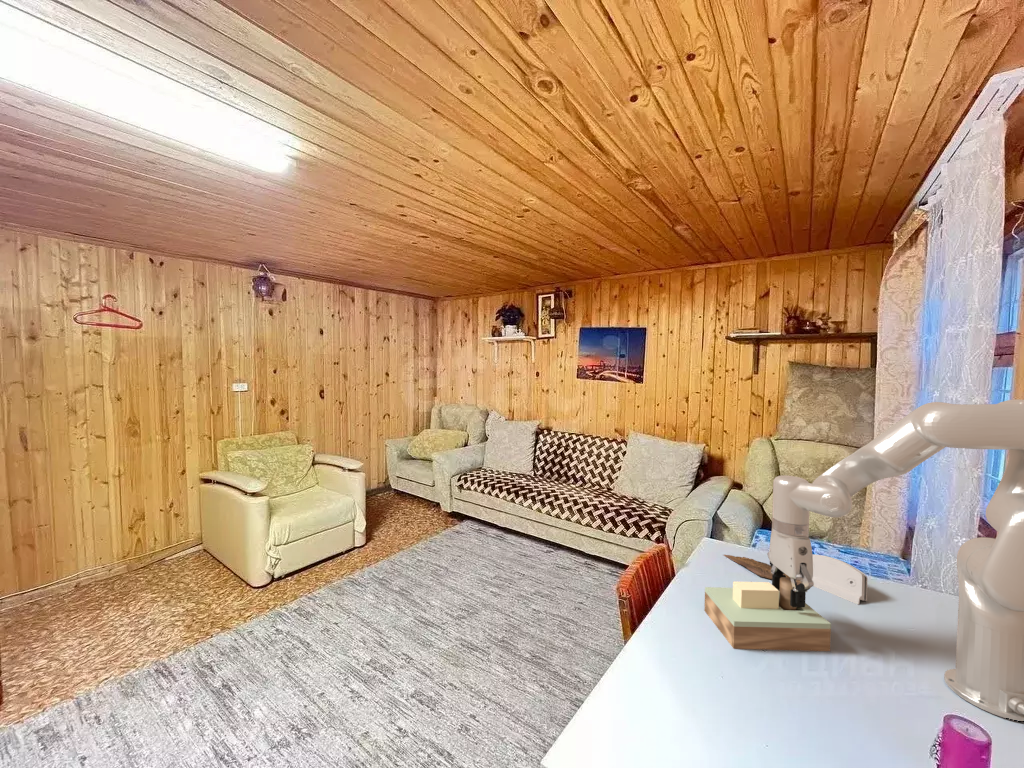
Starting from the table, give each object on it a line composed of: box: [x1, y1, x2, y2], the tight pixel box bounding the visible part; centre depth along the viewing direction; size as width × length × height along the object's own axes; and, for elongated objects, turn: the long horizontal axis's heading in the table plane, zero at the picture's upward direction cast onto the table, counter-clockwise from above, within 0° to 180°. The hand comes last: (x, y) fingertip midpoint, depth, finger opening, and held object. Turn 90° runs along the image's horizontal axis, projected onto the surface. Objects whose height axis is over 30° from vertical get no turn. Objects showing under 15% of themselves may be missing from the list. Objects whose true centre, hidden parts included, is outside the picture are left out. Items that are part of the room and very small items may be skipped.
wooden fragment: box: [723, 554, 801, 585], centre depth 134 cm, size 26×11×1 cm, turn 27°
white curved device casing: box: [796, 553, 868, 606], centre depth 123 cm, size 17×5×10 cm, turn 28°
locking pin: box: [779, 577, 797, 611], centre depth 101 cm, size 4×4×12 cm
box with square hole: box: [703, 591, 832, 652], centre depth 101 cm, size 15×22×6 cm
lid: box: [704, 581, 832, 630], centre depth 101 cm, size 15×22×6 cm
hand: (787, 597), depth 101 cm, fingers open, 6 cm apart
